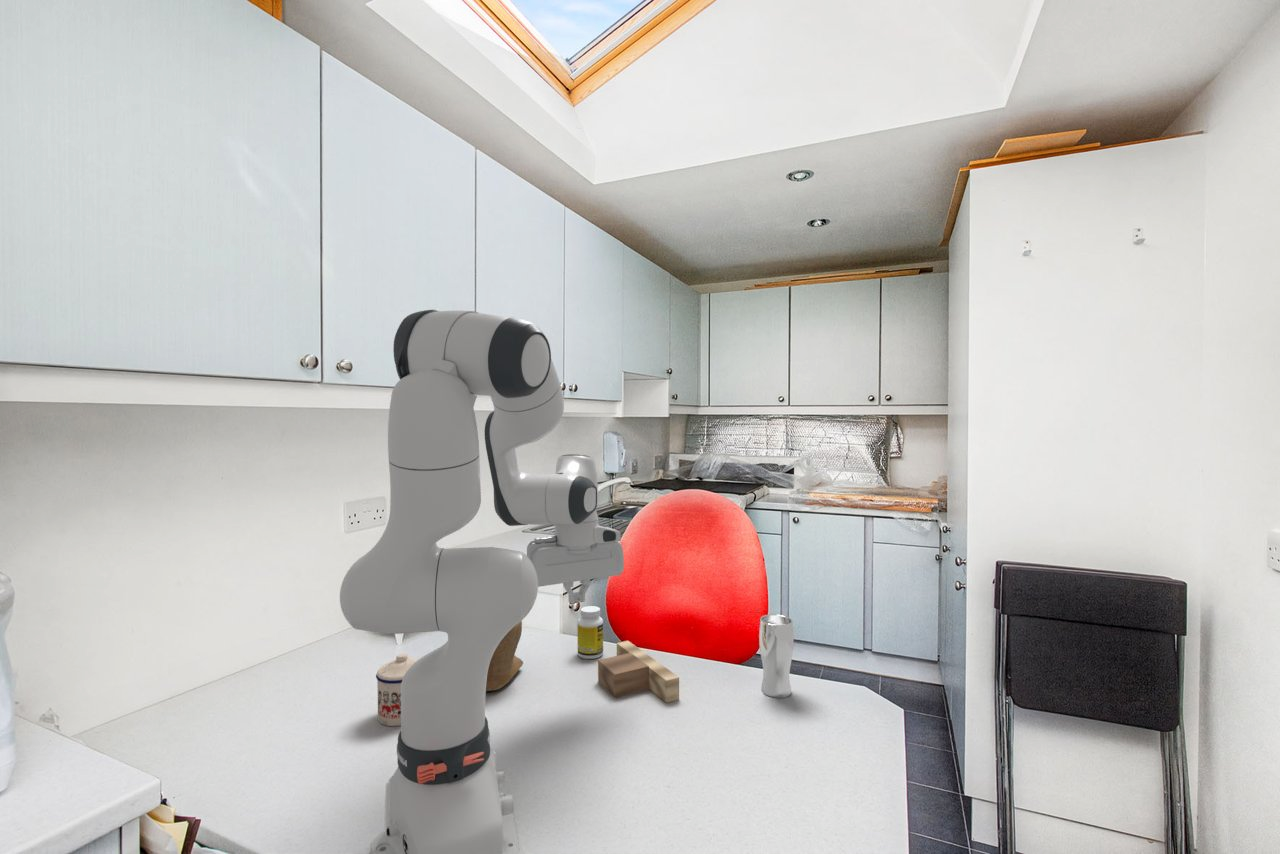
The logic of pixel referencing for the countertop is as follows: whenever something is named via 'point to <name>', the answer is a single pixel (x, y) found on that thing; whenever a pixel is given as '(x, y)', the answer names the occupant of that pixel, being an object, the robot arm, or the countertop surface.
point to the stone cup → (504, 660)
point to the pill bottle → (590, 633)
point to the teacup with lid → (391, 689)
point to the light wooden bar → (654, 673)
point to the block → (623, 675)
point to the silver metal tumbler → (776, 654)
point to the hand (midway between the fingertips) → (576, 602)
